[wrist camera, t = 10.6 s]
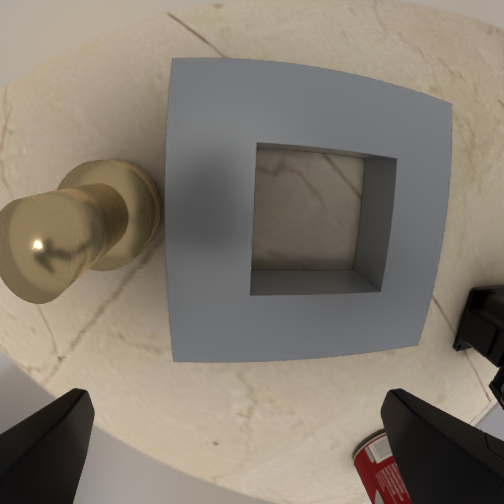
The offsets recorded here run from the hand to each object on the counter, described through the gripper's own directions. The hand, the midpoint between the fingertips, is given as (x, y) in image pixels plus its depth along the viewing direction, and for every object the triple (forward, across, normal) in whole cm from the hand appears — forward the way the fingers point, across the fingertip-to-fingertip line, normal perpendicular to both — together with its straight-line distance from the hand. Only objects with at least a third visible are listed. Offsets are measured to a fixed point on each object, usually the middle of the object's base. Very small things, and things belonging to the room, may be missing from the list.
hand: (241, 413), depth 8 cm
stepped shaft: (+12, +7, -4) cm, 15 cm away
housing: (+12, -4, -4) cm, 14 cm away
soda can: (+13, -17, +21) cm, 30 cm away
